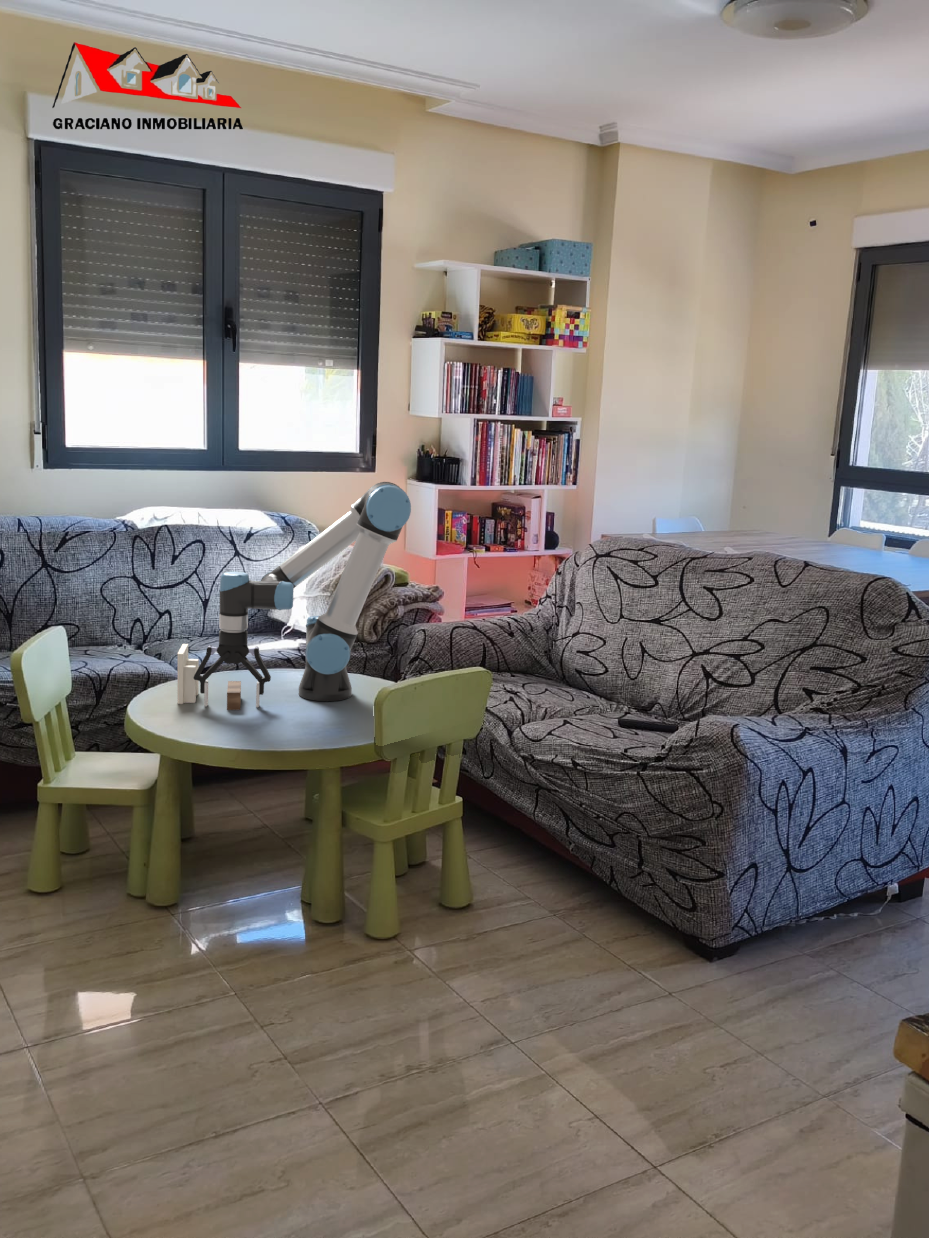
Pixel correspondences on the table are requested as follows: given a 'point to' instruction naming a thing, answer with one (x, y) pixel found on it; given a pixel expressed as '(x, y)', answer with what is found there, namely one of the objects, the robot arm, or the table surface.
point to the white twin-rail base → (187, 677)
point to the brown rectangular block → (234, 695)
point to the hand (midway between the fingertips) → (231, 705)
